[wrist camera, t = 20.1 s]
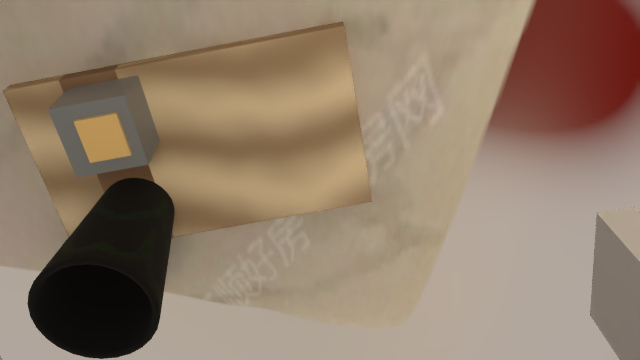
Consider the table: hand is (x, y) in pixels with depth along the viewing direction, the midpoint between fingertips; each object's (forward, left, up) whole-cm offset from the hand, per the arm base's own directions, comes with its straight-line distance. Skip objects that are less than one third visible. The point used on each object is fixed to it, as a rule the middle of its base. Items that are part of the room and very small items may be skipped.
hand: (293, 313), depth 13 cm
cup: (+13, -15, -31) cm, 36 cm away
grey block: (+5, -14, -30) cm, 34 cm away
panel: (+9, -9, -32) cm, 34 cm away
